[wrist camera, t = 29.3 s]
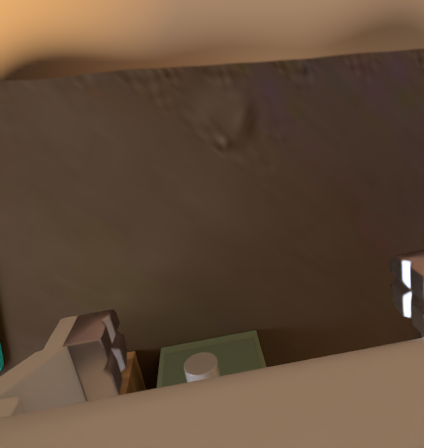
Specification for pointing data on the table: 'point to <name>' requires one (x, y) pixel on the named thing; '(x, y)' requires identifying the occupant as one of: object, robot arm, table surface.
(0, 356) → the handheld game console
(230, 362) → the block
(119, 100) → the table surface
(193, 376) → the bottle
